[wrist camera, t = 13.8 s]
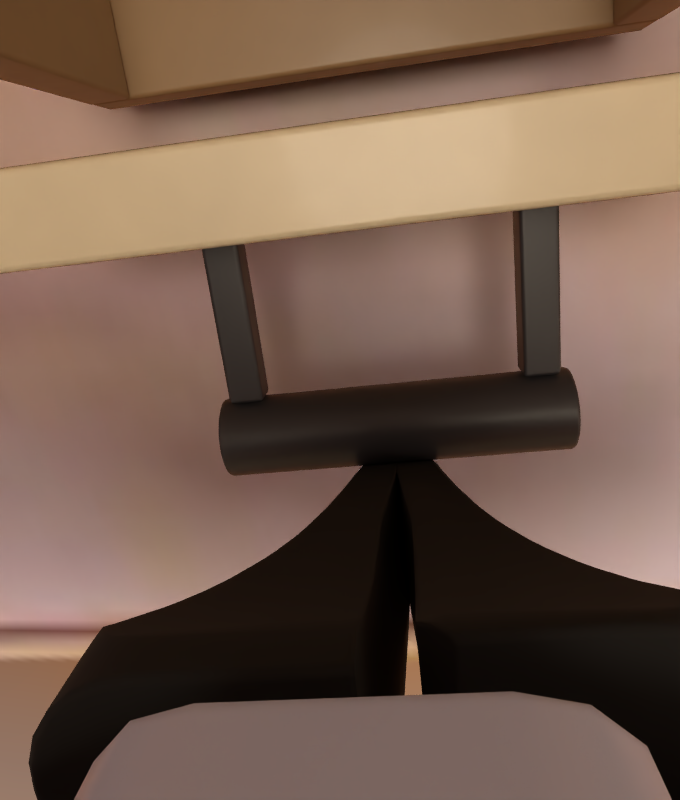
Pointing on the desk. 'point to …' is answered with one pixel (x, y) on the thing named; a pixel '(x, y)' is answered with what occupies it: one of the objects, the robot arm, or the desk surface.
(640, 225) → the desk surface
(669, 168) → the drawer
